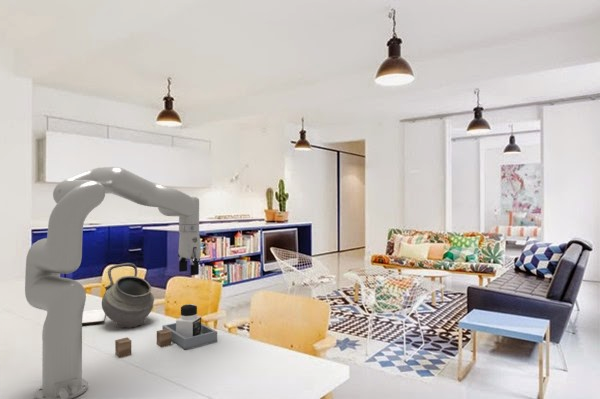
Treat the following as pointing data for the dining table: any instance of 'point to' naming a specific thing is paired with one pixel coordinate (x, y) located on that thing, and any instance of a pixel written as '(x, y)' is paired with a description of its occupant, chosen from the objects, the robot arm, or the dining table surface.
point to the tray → (195, 341)
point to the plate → (93, 316)
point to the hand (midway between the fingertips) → (188, 273)
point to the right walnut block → (164, 337)
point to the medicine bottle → (189, 321)
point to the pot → (127, 299)
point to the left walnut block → (123, 347)
